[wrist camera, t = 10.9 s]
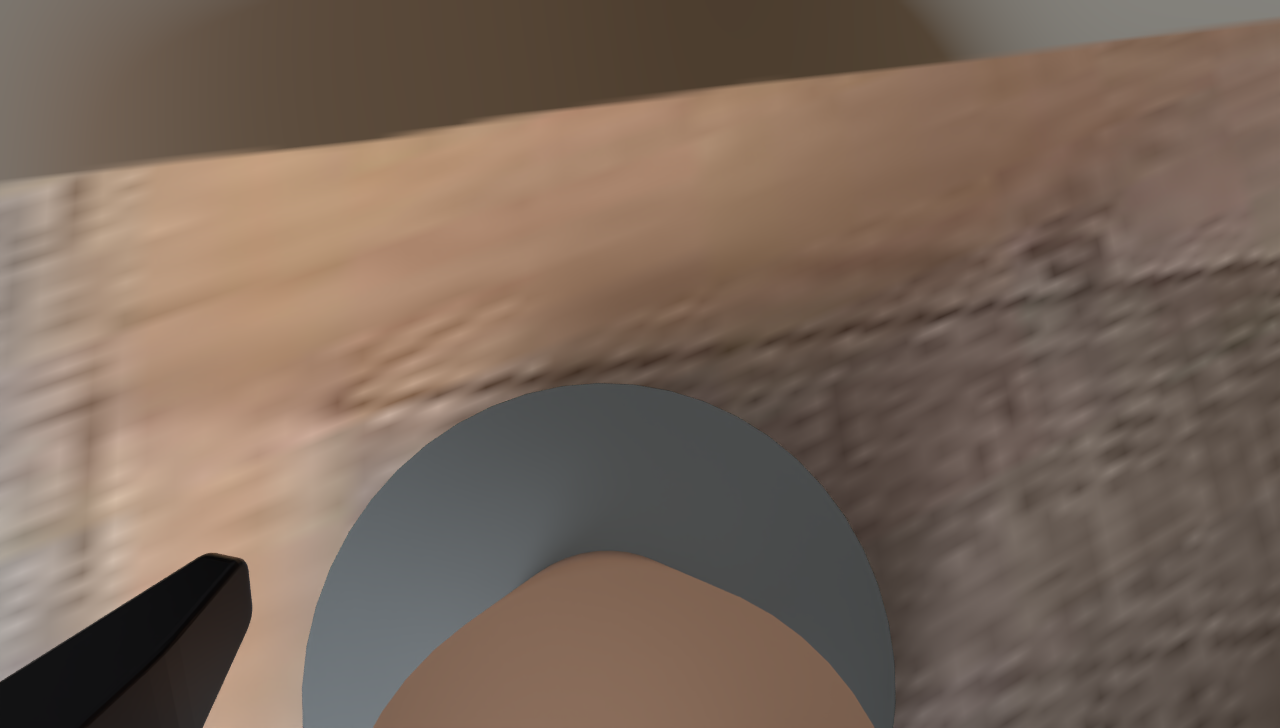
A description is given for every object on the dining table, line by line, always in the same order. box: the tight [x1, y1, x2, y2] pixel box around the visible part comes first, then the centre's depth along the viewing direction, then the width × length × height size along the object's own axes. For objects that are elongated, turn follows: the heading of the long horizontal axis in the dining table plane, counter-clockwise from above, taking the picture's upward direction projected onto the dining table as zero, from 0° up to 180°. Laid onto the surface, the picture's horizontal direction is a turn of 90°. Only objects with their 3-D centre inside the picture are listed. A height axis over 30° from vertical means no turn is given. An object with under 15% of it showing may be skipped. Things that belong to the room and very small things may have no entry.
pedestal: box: [302, 383, 896, 728], centre depth 18 cm, size 12×12×3 cm
